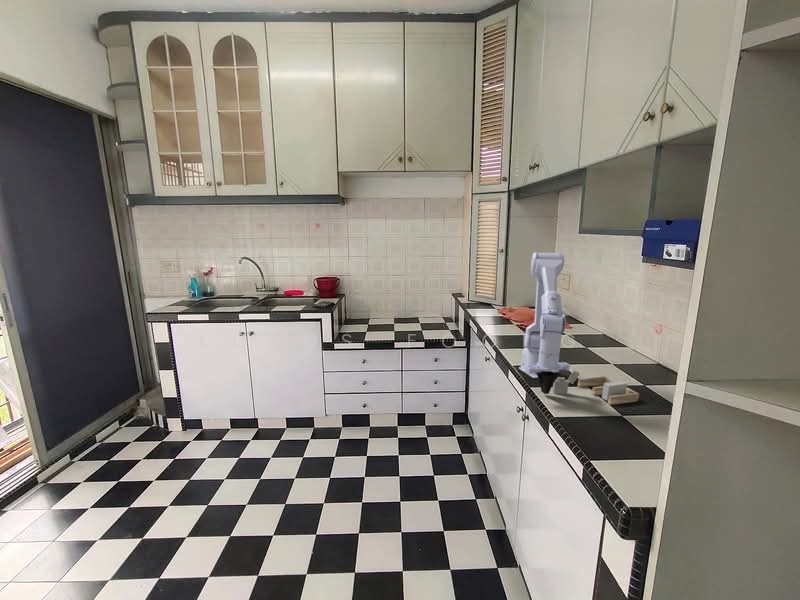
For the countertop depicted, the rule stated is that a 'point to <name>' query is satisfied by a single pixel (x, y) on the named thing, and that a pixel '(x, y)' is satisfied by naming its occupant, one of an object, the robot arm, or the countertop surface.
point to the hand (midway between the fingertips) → (545, 392)
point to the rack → (616, 399)
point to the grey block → (613, 389)
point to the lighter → (564, 383)
